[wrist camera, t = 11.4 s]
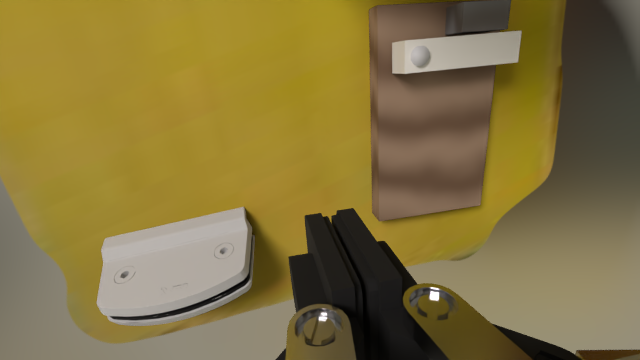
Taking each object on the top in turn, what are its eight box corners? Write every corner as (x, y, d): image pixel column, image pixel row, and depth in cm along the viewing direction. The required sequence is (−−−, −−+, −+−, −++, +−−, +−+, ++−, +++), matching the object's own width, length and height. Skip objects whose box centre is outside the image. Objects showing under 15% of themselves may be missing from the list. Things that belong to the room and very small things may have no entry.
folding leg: (392, 73, 34) (406, 73, 31) (392, 42, 33) (406, 40, 30) (497, 62, 36) (520, 62, 33) (500, 33, 35) (524, 30, 32)
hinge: (247, 206, 39) (253, 275, 31) (255, 231, 42) (263, 300, 34) (101, 238, 37) (70, 322, 29) (121, 263, 40) (98, 344, 32)
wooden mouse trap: (369, 9, 34) (389, -1, 29) (487, 3, 36) (525, -7, 31) (372, 212, 42) (388, 232, 37) (468, 198, 44) (496, 215, 39)
